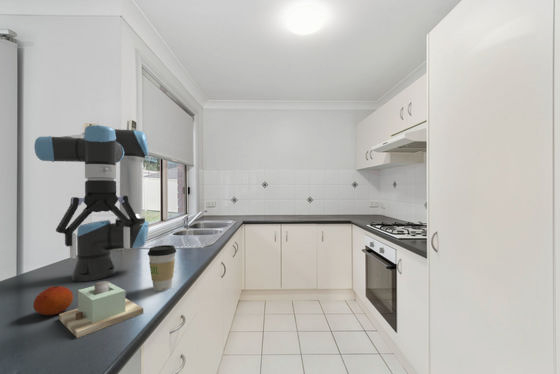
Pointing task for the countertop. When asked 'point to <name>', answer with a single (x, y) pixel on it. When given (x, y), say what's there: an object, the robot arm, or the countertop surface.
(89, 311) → the green block with window
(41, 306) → the fruit
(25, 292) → the countertop surface
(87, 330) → the post base
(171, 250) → the coffee cup
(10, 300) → the countertop surface
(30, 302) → the countertop surface
